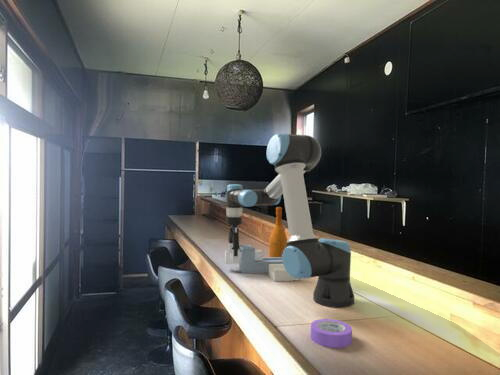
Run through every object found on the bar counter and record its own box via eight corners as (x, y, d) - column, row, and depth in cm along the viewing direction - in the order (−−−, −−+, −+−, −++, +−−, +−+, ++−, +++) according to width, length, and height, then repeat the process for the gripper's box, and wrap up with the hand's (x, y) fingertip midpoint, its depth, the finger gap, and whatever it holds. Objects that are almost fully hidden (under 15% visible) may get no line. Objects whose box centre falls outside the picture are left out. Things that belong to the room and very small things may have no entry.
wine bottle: (286, 264, 197) (287, 207, 196) (267, 263, 199) (268, 207, 198) (288, 260, 206) (289, 206, 205) (270, 259, 208) (271, 205, 207)
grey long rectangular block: (260, 260, 188) (260, 249, 188) (262, 263, 183) (262, 251, 182) (224, 261, 185) (224, 250, 185) (225, 263, 180) (225, 252, 180)
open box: (286, 271, 183) (287, 248, 182) (242, 273, 179) (242, 249, 178) (281, 266, 193) (281, 244, 192) (238, 267, 188) (239, 245, 188)
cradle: (298, 280, 168) (298, 269, 167) (274, 281, 166) (274, 270, 165) (291, 274, 178) (291, 263, 178) (268, 274, 176) (268, 264, 176)
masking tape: (345, 330, 115) (345, 318, 114) (357, 348, 103) (357, 334, 103) (307, 330, 114) (307, 318, 114) (315, 348, 103) (315, 334, 102)
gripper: (246, 219, 170) (245, 265, 171) (237, 213, 195) (237, 253, 196) (229, 219, 169) (228, 265, 170) (223, 213, 194) (222, 253, 195)
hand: (233, 259), depth 183 cm, fingers open, 13 cm apart
